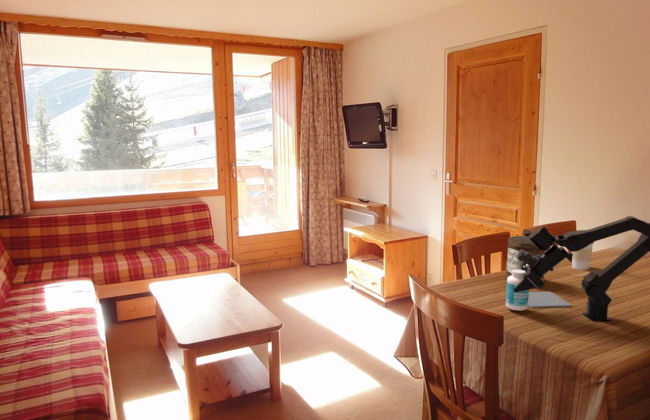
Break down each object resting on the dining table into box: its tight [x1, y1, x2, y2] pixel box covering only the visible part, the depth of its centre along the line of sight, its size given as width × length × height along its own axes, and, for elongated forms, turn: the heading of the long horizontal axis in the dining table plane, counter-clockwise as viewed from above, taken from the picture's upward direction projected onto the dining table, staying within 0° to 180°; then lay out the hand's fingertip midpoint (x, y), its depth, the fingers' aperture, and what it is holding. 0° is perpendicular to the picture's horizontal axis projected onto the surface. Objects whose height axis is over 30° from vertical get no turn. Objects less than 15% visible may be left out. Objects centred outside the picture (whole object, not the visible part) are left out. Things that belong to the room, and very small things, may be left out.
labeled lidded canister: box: [505, 229, 546, 280], centre depth 201 cm, size 15×15×22 cm
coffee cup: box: [571, 242, 595, 271], centre depth 220 cm, size 9×9×15 cm
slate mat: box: [528, 291, 573, 309], centre depth 179 cm, size 15×15×1 cm
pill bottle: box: [505, 269, 530, 312], centre depth 168 cm, size 8×7×14 cm
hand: (513, 288), depth 169 cm, fingers closed on pill bottle, 7 cm apart
